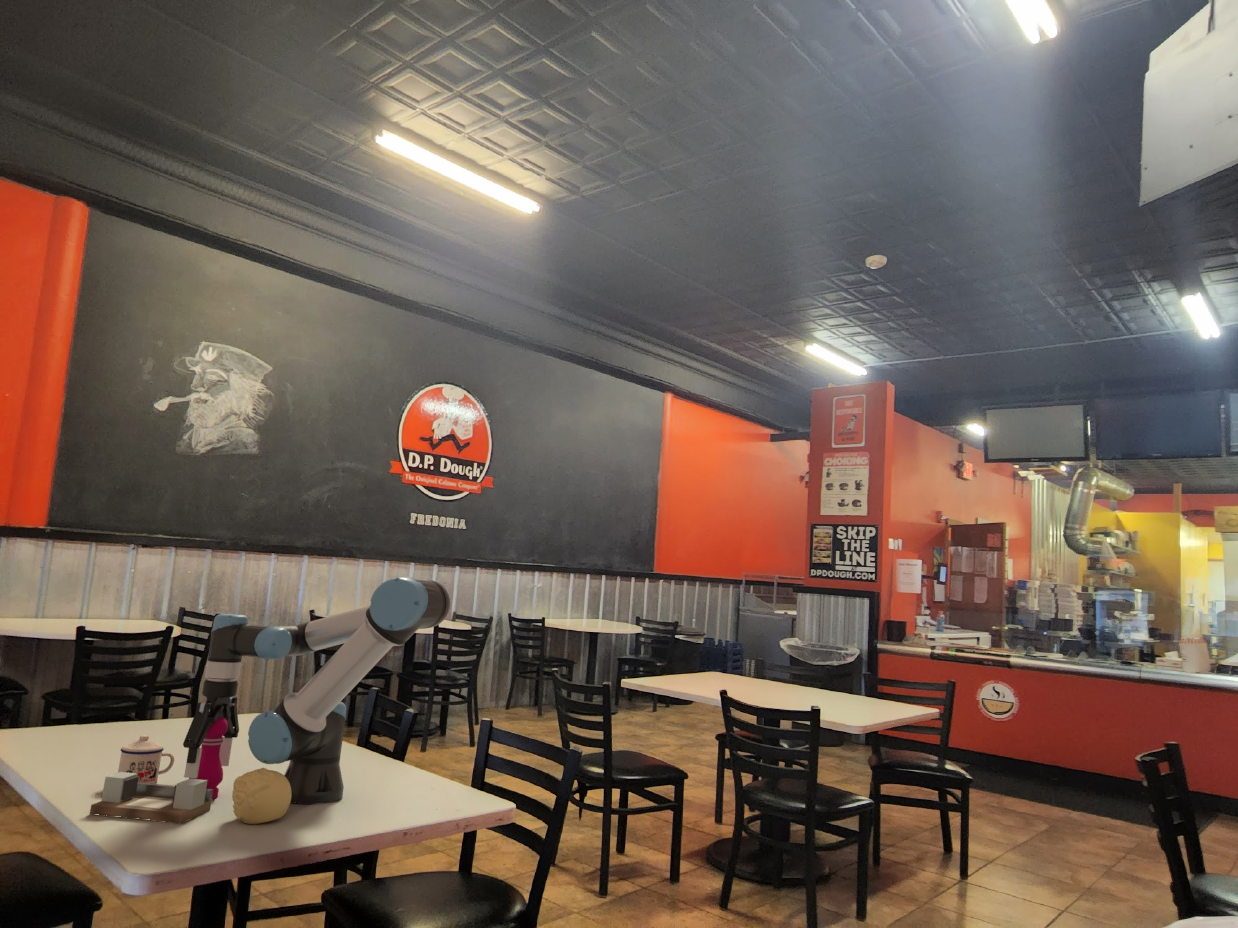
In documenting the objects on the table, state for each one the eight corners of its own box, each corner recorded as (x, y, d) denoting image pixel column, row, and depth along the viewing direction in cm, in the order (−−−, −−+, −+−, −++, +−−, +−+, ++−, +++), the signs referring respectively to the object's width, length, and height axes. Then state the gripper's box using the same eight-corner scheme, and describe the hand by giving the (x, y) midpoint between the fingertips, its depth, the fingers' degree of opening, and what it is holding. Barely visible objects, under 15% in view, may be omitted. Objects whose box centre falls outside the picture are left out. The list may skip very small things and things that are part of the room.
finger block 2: (203, 803, 176) (207, 780, 177) (190, 809, 171) (194, 785, 172) (183, 801, 177) (187, 778, 177) (170, 807, 172) (174, 783, 173)
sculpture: (220, 817, 175) (228, 765, 177) (275, 810, 183) (282, 760, 185) (239, 830, 167) (247, 776, 168) (296, 822, 175) (303, 771, 177)
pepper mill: (194, 802, 184) (209, 712, 187) (180, 795, 188) (194, 707, 191) (225, 797, 189) (239, 710, 193) (210, 791, 194) (224, 706, 197)
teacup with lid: (118, 791, 187) (127, 740, 189) (110, 783, 194) (119, 733, 196) (174, 787, 195) (182, 737, 197) (165, 778, 202) (173, 730, 204)
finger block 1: (136, 797, 177) (140, 773, 178) (121, 802, 172) (125, 778, 173) (116, 795, 177) (120, 771, 178) (101, 800, 173) (105, 776, 173)
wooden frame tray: (210, 809, 179) (211, 800, 179) (180, 823, 168) (182, 813, 168) (124, 801, 180) (125, 791, 181) (89, 814, 169) (91, 804, 170)
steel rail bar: (211, 800, 179) (213, 789, 180) (208, 801, 178) (210, 790, 179) (125, 792, 181) (127, 780, 181) (122, 793, 179) (124, 782, 180)
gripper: (233, 673, 206) (219, 759, 202) (176, 682, 181) (159, 781, 178) (261, 675, 205) (248, 762, 202) (208, 685, 181) (192, 784, 177)
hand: (207, 771), depth 190 cm, fingers open, 13 cm apart
